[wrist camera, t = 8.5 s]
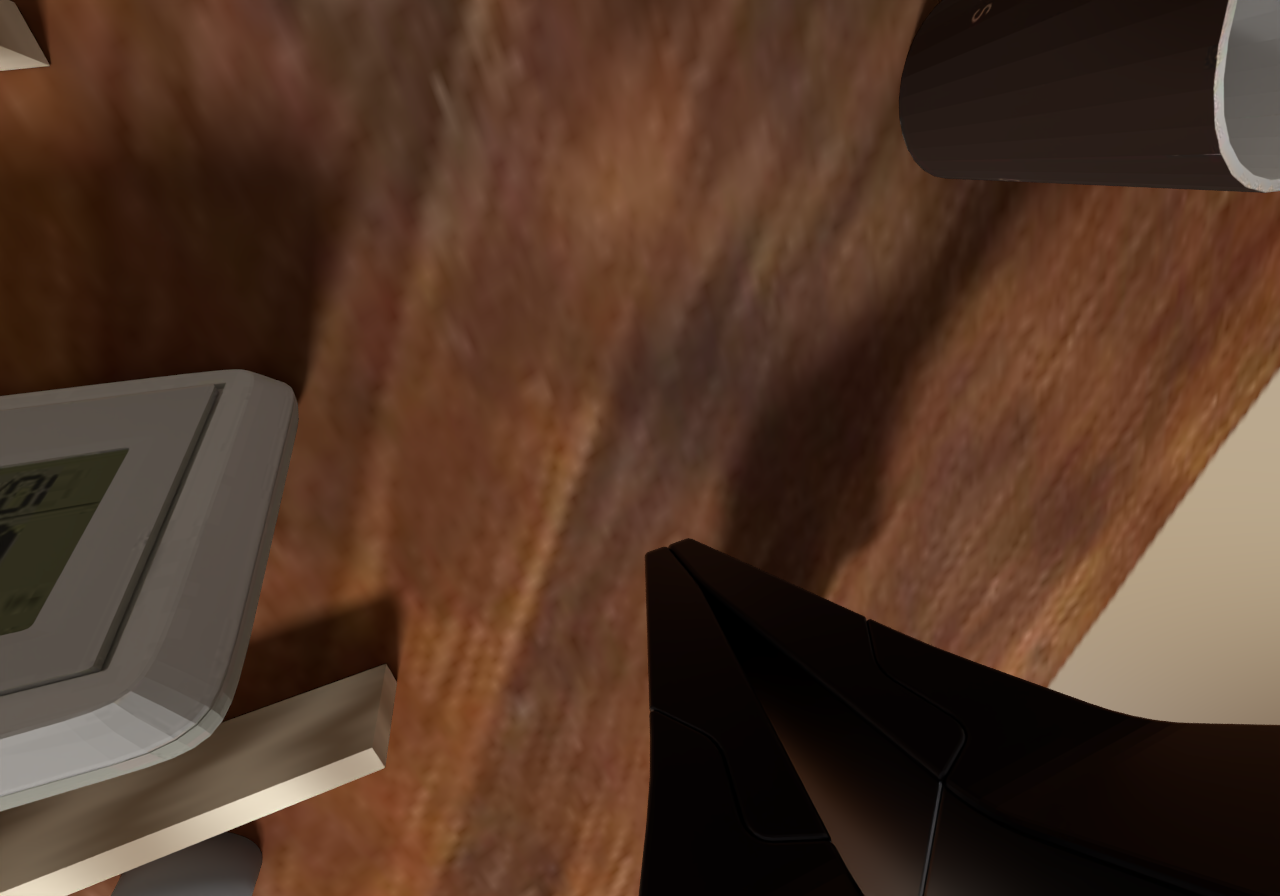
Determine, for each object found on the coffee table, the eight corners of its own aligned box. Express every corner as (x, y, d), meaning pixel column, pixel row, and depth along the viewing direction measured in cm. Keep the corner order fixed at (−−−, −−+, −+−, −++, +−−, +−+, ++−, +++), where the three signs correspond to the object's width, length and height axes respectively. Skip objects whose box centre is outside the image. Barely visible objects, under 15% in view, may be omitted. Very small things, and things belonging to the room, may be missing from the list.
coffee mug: (866, 220, 21) (1163, 212, 12) (885, -58, 17) (1337, -364, 8) (1074, 187, 23) (1439, 161, 15) (1129, -59, 20) (1663, -289, 11)
